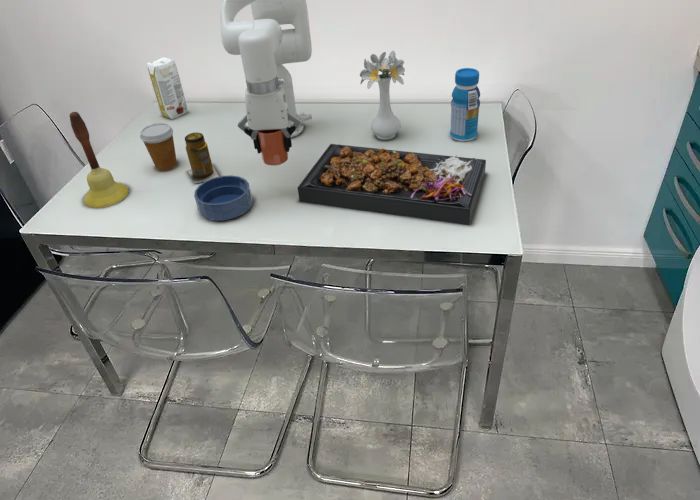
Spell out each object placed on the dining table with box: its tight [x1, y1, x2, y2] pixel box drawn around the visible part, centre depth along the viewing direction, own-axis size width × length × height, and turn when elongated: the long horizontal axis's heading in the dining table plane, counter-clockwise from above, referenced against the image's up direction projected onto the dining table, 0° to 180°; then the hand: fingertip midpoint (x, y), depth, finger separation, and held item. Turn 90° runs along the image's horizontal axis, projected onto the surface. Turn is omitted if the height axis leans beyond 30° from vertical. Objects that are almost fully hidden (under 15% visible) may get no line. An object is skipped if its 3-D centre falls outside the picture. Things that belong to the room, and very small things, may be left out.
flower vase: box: [359, 50, 406, 141], centre depth 169 cm, size 13×18×25 cm
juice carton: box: [146, 56, 189, 120], centre depth 195 cm, size 8×9×19 cm
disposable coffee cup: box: [139, 122, 178, 172], centre depth 167 cm, size 10×10×12 cm
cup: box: [258, 129, 289, 166], centre depth 145 cm, size 7×7×9 cm
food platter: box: [297, 143, 487, 225], centre depth 149 cm, size 45×25×10 cm, turn 71°
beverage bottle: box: [449, 67, 481, 142], centre depth 166 cm, size 8×8×20 cm
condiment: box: [184, 131, 220, 184], centre depth 161 cm, size 7×8×12 cm
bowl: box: [193, 174, 253, 222], centre depth 149 cm, size 14×14×6 cm
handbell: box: [69, 111, 130, 209], centre depth 152 cm, size 12×12×25 cm
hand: (273, 149), depth 146 cm, fingers closed on cup, 6 cm apart
